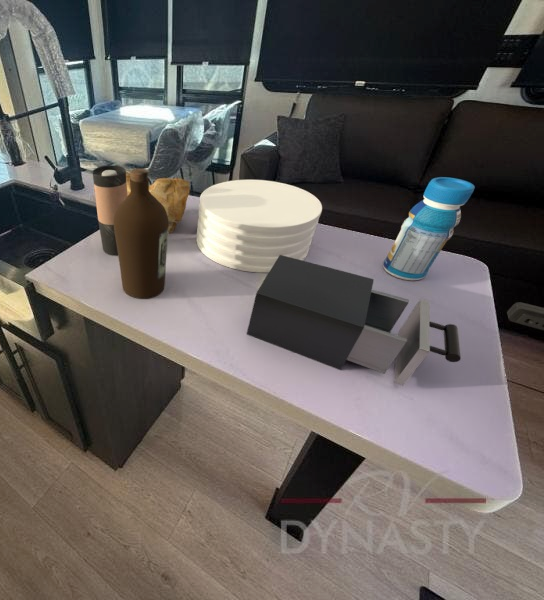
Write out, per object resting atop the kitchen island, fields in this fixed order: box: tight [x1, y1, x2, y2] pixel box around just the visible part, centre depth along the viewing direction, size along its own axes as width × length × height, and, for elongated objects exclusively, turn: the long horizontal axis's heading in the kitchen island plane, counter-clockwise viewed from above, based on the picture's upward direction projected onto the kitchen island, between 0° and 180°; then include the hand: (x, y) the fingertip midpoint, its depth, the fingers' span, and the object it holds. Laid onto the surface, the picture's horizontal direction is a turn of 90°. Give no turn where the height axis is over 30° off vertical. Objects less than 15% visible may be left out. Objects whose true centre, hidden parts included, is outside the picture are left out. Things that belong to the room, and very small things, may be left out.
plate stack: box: [196, 179, 323, 273], centre depth 82 cm, size 28×28×12 cm
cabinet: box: [246, 255, 375, 371], centre depth 58 cm, size 16×14×10 cm
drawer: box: [346, 289, 461, 387], centre depth 53 cm, size 19×13×8 cm, turn 57°
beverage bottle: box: [382, 176, 476, 281], centre depth 68 cm, size 8×8×20 cm
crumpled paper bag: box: [126, 171, 191, 234], centre depth 93 cm, size 23×17×15 cm
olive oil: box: [114, 168, 169, 300], centre depth 65 cm, size 11×11×25 cm
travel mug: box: [92, 164, 128, 256], centre depth 79 cm, size 8×8×20 cm
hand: (511, 311), depth 42 cm, fingers closed
